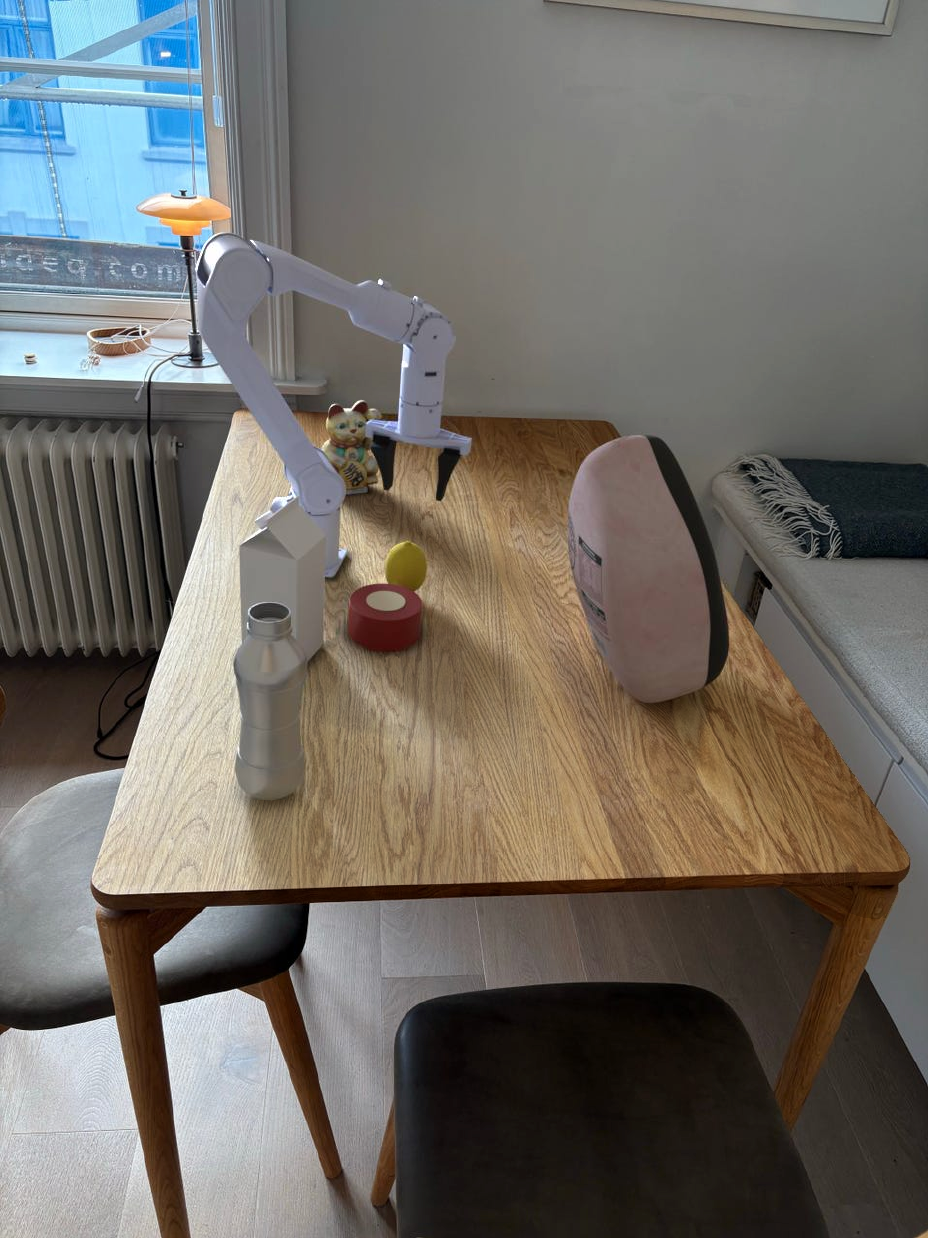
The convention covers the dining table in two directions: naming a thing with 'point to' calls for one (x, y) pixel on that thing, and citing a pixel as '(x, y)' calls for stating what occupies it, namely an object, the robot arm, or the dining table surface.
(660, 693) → the pink backpack
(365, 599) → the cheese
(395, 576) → the lemon
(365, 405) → the decorative figurine
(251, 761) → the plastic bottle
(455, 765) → the dining table surface
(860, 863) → the dining table surface
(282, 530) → the milk carton
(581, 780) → the dining table surface
